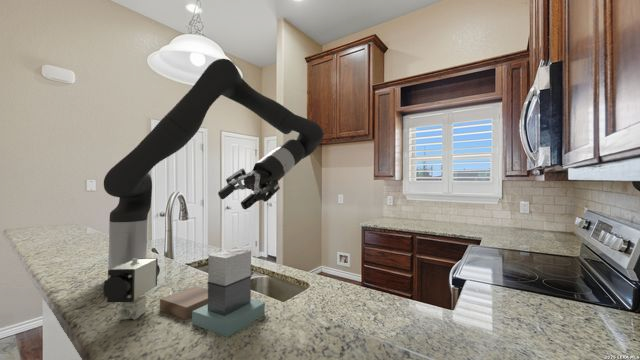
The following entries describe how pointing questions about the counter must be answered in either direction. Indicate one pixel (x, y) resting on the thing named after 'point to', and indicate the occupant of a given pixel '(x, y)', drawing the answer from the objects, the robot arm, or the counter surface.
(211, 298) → the block
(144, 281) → the pneumatic valve
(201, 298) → the stand
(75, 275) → the counter surface
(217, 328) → the stand
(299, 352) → the counter surface
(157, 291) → the counter surface
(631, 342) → the counter surface
